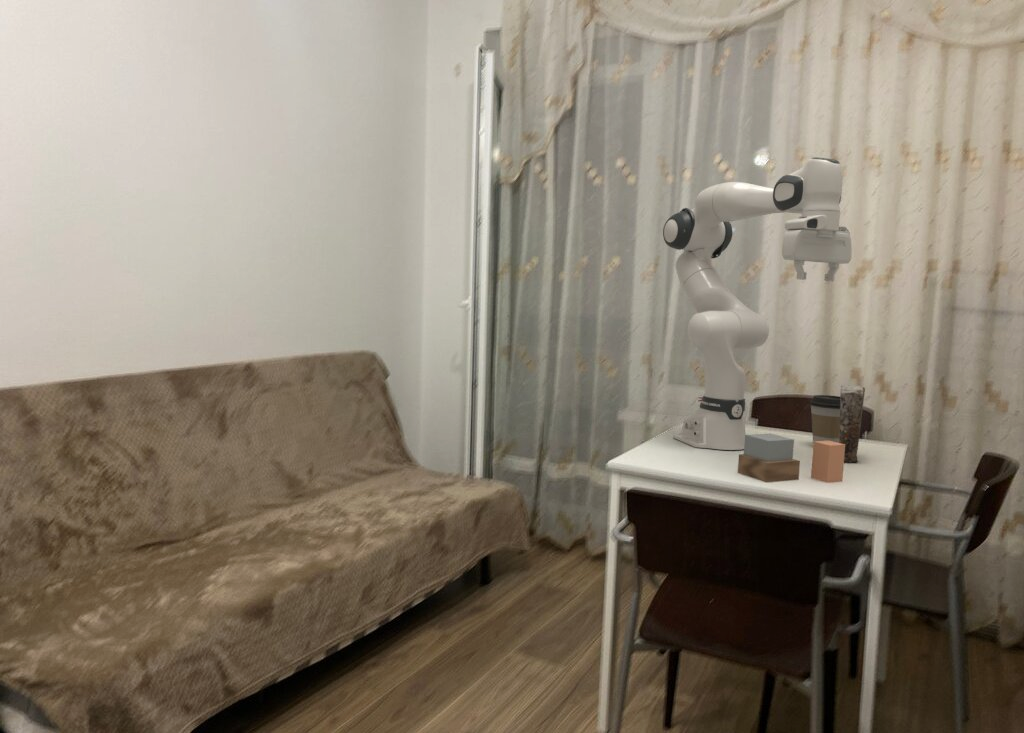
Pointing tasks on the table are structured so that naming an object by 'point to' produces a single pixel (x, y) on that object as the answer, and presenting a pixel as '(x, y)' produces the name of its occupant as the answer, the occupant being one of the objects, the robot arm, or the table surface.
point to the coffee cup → (825, 418)
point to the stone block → (850, 419)
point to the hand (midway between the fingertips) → (815, 280)
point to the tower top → (768, 447)
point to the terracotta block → (828, 461)
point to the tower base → (768, 469)
